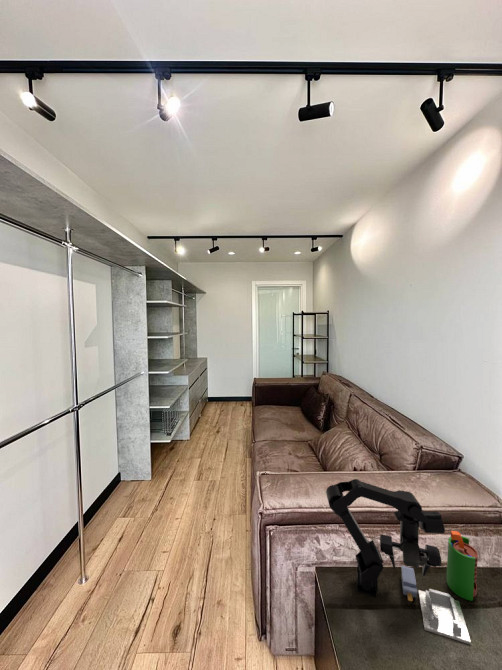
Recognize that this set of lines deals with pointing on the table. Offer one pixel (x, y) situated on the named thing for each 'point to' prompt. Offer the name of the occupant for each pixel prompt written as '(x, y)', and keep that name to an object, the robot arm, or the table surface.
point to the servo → (408, 582)
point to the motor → (461, 566)
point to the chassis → (443, 615)
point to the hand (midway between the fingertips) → (408, 571)
